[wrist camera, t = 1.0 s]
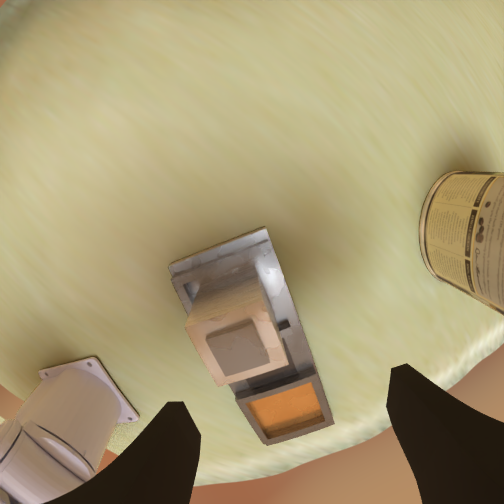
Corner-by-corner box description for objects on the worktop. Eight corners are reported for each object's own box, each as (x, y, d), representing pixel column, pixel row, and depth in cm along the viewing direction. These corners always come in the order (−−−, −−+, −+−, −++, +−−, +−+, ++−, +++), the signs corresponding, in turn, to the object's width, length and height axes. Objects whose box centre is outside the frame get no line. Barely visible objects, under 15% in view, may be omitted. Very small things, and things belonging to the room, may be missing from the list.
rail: (266, 438, 24) (267, 453, 22) (171, 262, 19) (164, 271, 17) (332, 417, 24) (337, 430, 22) (264, 226, 19) (267, 231, 17)
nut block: (222, 334, 20) (217, 391, 14) (199, 285, 19) (183, 331, 13) (275, 315, 20) (290, 368, 13) (255, 264, 19) (263, 303, 12)
